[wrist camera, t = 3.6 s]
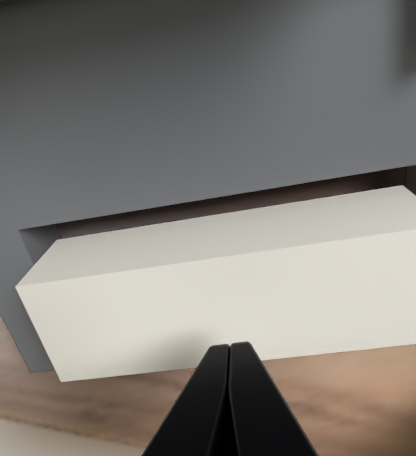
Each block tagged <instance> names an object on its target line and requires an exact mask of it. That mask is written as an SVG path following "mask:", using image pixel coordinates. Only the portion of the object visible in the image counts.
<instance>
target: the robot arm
mask: <svg viewBox="0 0 416 456" xmlns="http://www.w3.org/2000/svg"><path fill="white" fill-rule="evenodd" d="M142 456H319V455H318V454H317V452H316V450H315V449H314V447H313V445H312V444H311V442H310V440H309V439H308V437H307V435H306V434H305V432H304V431H303V429H302V427H301V426H300V424H299V422H298V421H297V419H296V417H295V416H294V414H293V412H292V411H291V409H290V407H289V406H288V404H287V402H286V401H285V399H284V397H283V396H282V394H281V392H280V391H279V389H278V387H277V386H276V384H275V382H274V381H273V379H272V377H271V376H270V374H269V373H268V371H267V369H266V368H265V366H264V364H263V363H262V361H261V359H260V358H259V356H258V354H257V353H256V351H255V349H254V348H253V346H252V344H251V343H250V342H248V341H245V342H236V343H232V344H231V345H229V344H219V345H212V346H210V347H209V348H208V350H207V352H206V353H205V355H204V356H203V358H202V360H201V361H200V363H199V364H198V366H197V368H196V369H195V371H194V372H193V374H192V376H191V377H190V379H189V380H188V382H187V384H186V385H185V387H184V388H183V390H182V392H181V393H180V395H179V396H178V398H177V400H176V401H175V403H174V404H173V406H172V408H171V409H170V411H169V412H168V414H167V416H166V417H165V419H164V420H163V422H162V424H161V425H160V427H159V429H158V430H157V432H156V433H155V435H154V437H153V438H152V440H151V441H150V443H149V445H148V446H147V448H146V449H145V451H144V453H143V454H142Z"/></svg>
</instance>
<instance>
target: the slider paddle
mask: <svg viewBox="0 0 416 456" xmlns="http://www.w3.org/2000/svg"><path fill="white" fill-rule="evenodd" d="M24 1H28V0H0V7H4V6H8V5H12V4H16V3H20V2H24Z"/></svg>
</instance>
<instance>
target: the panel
mask: <svg viewBox="0 0 416 456" xmlns="http://www.w3.org/2000/svg"><path fill="white" fill-rule="evenodd" d="M405 166H406V188H407V189H408V190H409V191H410V192H412V193H413V194H414V195H415V196H416V0H28V1H24V2H20V3H16V4H12V5H8V6H4V7H0V315H1V317H2V319H3V321H4V322H5V324H6V326H7V328H8V330H9V332H10V334H11V336H12V338H13V340H14V342H15V344H16V346H17V347H18V349H19V351H20V353H21V355H22V357H23V359H24V361H25V363H26V365H27V367H28V369H29V371H30V372H31V373H35V372H43V371H52V370H55V369H54V367H53V365H52V362H51V360H50V358H49V356H48V354H47V352H46V350H45V348H44V346H43V344H42V342H41V340H40V338H39V335H38V333H37V331H36V329H35V327H34V325H33V323H32V321H31V319H30V317H29V315H28V313H27V311H26V309H25V306H24V304H23V302H22V300H21V298H20V296H19V294H18V292H17V290H16V288H15V286H16V285H17V284H18V283H19V282H20V281H21V280H22V278H23V277H24V276H25V275H26V274H27V273H28V272H29V271H30V269H31V268H32V267H33V266H34V265H35V264H36V263H37V262H38V260H39V259H40V258H41V257H42V256H43V255H44V254H45V252H46V251H47V250H48V249H49V248H50V247H51V246H52V245H53V243H54V242H55V241H56V240H59V239H62V238H61V235H60V233H59V230H58V228H57V225H56V224H57V223H63V222H69V221H75V220H81V219H88V218H94V217H100V216H106V215H112V214H118V213H124V212H130V211H136V210H143V209H149V208H155V207H161V206H167V205H173V204H179V203H185V202H191V201H198V200H204V199H210V198H216V197H222V196H228V195H234V194H240V193H246V192H253V191H259V190H265V189H271V188H277V187H283V186H289V185H295V184H301V183H307V182H314V181H320V180H326V179H332V178H338V177H344V176H350V175H356V174H362V173H369V172H375V171H381V170H387V169H393V168H399V167H405Z"/></svg>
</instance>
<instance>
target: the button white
mask: <svg viewBox="0 0 416 456" xmlns="http://www.w3.org/2000/svg"><path fill="white" fill-rule="evenodd" d="M15 288H16V290H17V292H18V294H19V296H20V298H21V300H22V302H23V304H24V306H25V309H26V311H27V313H28V315H29V317H30V319H31V321H32V323H33V325H34V327H35V329H36V331H37V333H38V335H39V338H40V340H41V342H42V344H43V346H44V348H45V350H46V352H47V354H48V356H49V358H50V360H51V362H52V365H53V367H54V369H55V371H56V373H57V375H58V377H59V379H60V381H61V382H67V381H76V380H85V379H95V378H104V377H113V376H123V375H132V374H141V373H150V372H160V371H169V370H178V369H187V368H197V366H198V364H199V363H200V361H201V360H202V358H203V356H204V355H205V353H206V352H207V350H208V348H209V347H210V346H212V345H219V344H229V345H231V344H232V343H236V342H245V341H248V342H250V343H251V344H252V346H253V348H254V349H255V351H256V353H257V354H258V356H259V358H260V359H261V361H262V360H271V359H280V358H289V357H299V356H308V355H317V354H326V353H336V352H345V351H354V350H364V349H373V348H382V347H391V346H401V345H410V344H416V196H415V195H414V194H413V193H412V192H410V191H409V190H408V189H407V188H406V187H404V186H403V185H400V186H394V187H388V188H381V189H375V190H369V191H362V192H356V193H350V194H343V195H337V196H331V197H324V198H318V199H312V200H306V201H299V202H293V203H287V204H280V205H274V206H268V207H261V208H255V209H249V210H242V211H236V212H230V213H223V214H217V215H211V216H204V217H198V218H192V219H185V220H179V221H173V222H166V223H160V224H154V225H147V226H141V227H135V228H128V229H122V230H116V231H109V232H103V233H97V234H90V235H84V236H78V237H71V238H65V239H59V240H56V241H55V242H54V243H53V245H52V246H51V247H50V248H49V249H48V250H47V251H46V252H45V254H44V255H43V256H42V257H41V258H40V259H39V260H38V262H37V263H36V264H35V265H34V266H33V267H32V268H31V269H30V271H29V272H28V273H27V274H26V275H25V276H24V277H23V278H22V280H21V281H20V282H19V283H18V284H17V285H16V286H15Z"/></svg>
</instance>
